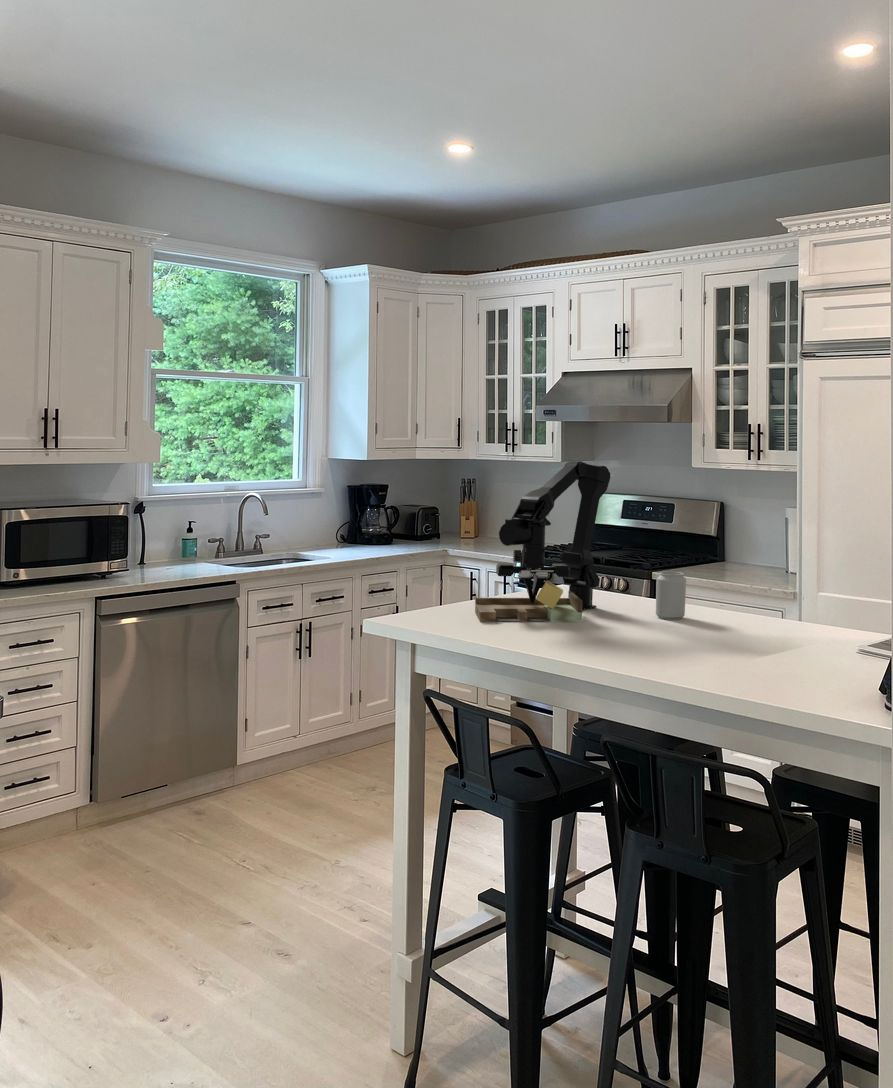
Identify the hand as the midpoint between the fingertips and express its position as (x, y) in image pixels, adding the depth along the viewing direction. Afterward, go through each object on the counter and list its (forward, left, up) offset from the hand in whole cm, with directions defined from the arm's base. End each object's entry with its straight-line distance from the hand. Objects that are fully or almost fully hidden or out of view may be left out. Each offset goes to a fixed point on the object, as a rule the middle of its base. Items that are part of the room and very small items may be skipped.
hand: (532, 602), depth 256 cm
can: (-28, +23, -4) cm, 37 cm away
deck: (+2, +1, -4) cm, 4 cm away
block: (-2, +3, 0) cm, 3 cm away
